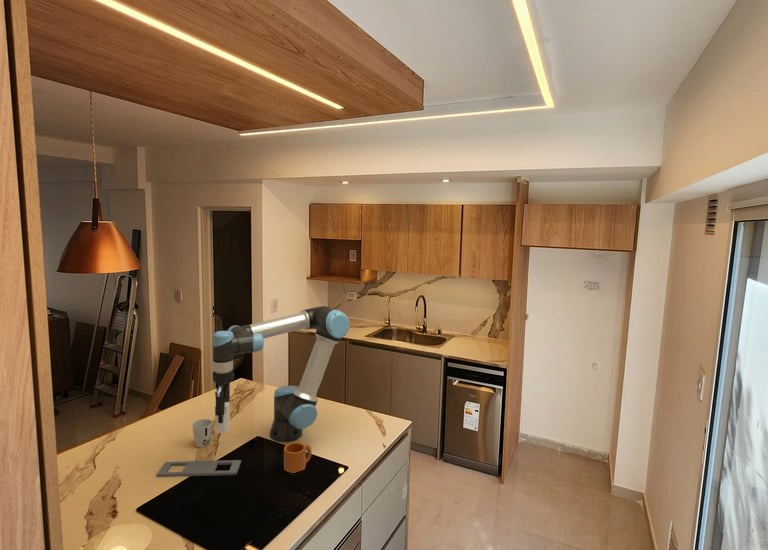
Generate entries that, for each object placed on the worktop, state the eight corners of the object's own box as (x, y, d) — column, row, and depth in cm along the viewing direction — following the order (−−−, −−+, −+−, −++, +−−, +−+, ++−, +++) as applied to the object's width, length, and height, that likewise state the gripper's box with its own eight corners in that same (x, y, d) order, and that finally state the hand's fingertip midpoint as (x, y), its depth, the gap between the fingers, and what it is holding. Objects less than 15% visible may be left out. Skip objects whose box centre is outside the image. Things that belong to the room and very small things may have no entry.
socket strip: (241, 462, 179) (241, 460, 179) (236, 474, 170) (236, 472, 170) (165, 464, 176) (165, 461, 175) (156, 476, 167) (156, 474, 167)
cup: (205, 450, 187) (205, 428, 186) (188, 447, 189) (188, 426, 188) (215, 441, 195) (215, 420, 194) (200, 438, 197) (199, 417, 196)
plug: (229, 427, 174) (229, 402, 173) (227, 433, 170) (227, 406, 169) (217, 428, 174) (217, 402, 172) (214, 433, 169) (213, 406, 168)
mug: (316, 469, 177) (316, 448, 175) (287, 476, 171) (287, 455, 169) (308, 458, 184) (309, 438, 183) (281, 465, 178) (281, 444, 177)
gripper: (219, 363, 177) (219, 417, 180) (206, 378, 160) (206, 437, 163) (237, 363, 178) (237, 416, 181) (227, 378, 161) (227, 437, 164)
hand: (222, 426), depth 172 cm, fingers closed on plug, 4 cm apart
